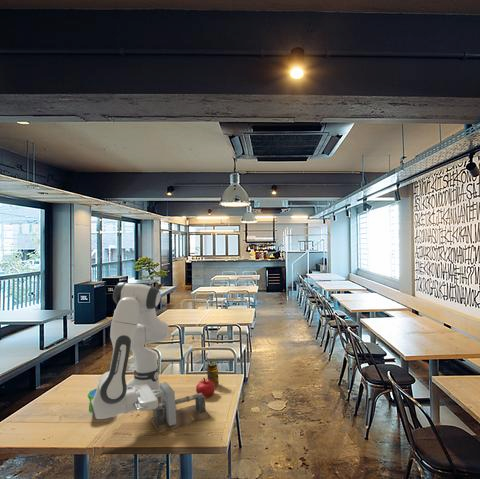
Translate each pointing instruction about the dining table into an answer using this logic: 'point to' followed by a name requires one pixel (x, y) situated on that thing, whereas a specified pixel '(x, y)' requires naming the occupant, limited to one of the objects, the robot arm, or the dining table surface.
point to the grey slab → (168, 403)
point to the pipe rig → (181, 413)
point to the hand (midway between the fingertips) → (163, 392)
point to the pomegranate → (205, 387)
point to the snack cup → (91, 398)
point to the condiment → (213, 374)
